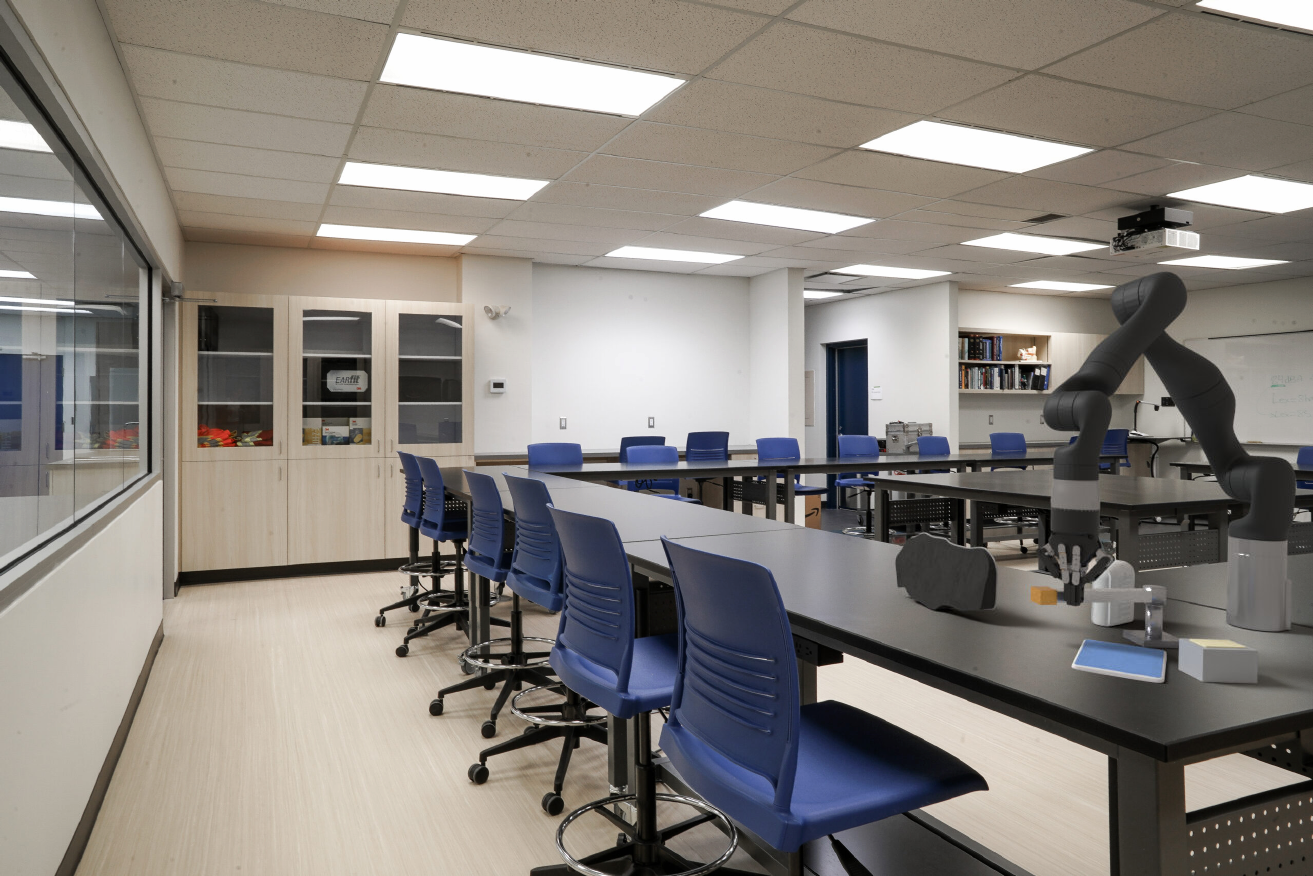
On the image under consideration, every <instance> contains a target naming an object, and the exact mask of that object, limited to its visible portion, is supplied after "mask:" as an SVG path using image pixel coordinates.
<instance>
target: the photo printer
mask: <svg viewBox="0 0 1313 876" xmlns="http://www.w3.org/2000/svg"><path fill="white" fill-rule="evenodd" d="M1135 573H1136V572H1135V570H1134V567H1133V566H1132V564H1130V563H1129V562H1127V561H1124V560H1118V559H1115V561H1114V562H1113V563H1112V564H1111V565H1110V566H1109V567H1108V568H1107V569H1106V570H1105V572H1104V573H1103V574H1102V575H1101V576H1100V577H1099V578H1098V579H1097V580H1096V581H1094V582H1091V583H1092V584H1091V585H1092V587H1091V588H1135V583H1136V581H1135V579H1136V578H1135ZM1134 617H1135V602H1110V603H1091V617H1090V618H1091V622H1092V623H1093V624H1094V625H1096V626H1101V627H1112V626H1113V627H1114V626H1117V625H1122V624H1126V623H1131V622H1133V621H1134Z"/></svg>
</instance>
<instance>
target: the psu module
mask: <svg viewBox="0 0 1313 876" xmlns="http://www.w3.org/2000/svg"><path fill="white" fill-rule="evenodd" d="M1178 638H1179V648H1178V671H1180V672H1183V674H1184V673H1185V674H1187V675H1188V676H1191V678H1194V679H1196V680H1198V681H1199V682H1201V683H1202V682H1203V683H1229V684H1230V683H1233V684H1237V683H1238V684H1258V669H1259V665H1258V663H1259V650H1257V649H1255V648H1253V647H1250V646H1247V645H1245V644H1243V643H1241V642H1238V641H1235V640H1233V639H1225V638H1221V639H1220V638H1219V639H1218V638H1215V639H1214V638H1213V639H1212V638H1182V637H1181V638H1180V637H1178Z"/></svg>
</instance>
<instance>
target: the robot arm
mask: <svg viewBox="0 0 1313 876" xmlns="http://www.w3.org/2000/svg"><path fill="white" fill-rule="evenodd" d="M1187 291H1188V290H1187V288H1186V285H1185V282H1184V281H1183V279H1181V277H1180V276H1179V275H1177V274H1176V273H1173V272H1171V271H1159V272H1154V273H1151V274H1147V275H1145V276H1142V277H1139V278H1137V279H1134V280H1133V279H1132V280H1131V281H1128V282H1125V283H1122V284H1120V285H1118V286H1117V287H1115V288H1114V289H1113V290H1112V292H1111V295H1110V306H1111V310H1112V313H1113V316H1114V317H1115V318H1116V320H1117V322H1118V324H1119V325H1120V326H1119V327H1118V328H1117V329H1116V330H1114V331H1113V332H1112V333H1109V335H1108V336H1106V338H1104V339H1103V340H1101V342H1099V343H1098V344H1097V345H1096V347H1094V349H1092V351H1091V352H1090V353H1089V354H1088V356H1087V357H1086V359H1085V360H1084V362H1083V364H1082V365H1081V366H1080V368H1079V369H1078V371H1076V372H1075V373H1074V374H1072V375H1071V376H1070V377H1069V378H1067V379H1066V380H1065V381H1064V382H1062V383H1061V384H1060V385H1059V386H1057V387H1056V388H1055V389H1054V390H1053V391H1052V392H1051V393H1049V395H1048V397H1047V398H1046V401H1045V402H1044V405H1043V410H1042V414H1043V415H1042V416H1043V421H1044V422H1045V424H1046V425H1047V427H1049V428H1050V429H1051V430H1054V431H1058V432H1079V434H1078V436H1077V438H1076V440H1075V441H1074V442H1072V443H1071V444H1066V445H1061V446H1059V447H1057V448H1055V450H1054V452H1053V460H1052V461H1053V465H1052V466H1053V472H1052V473H1053V474H1052V475H1053V478H1052V487H1051V492H1050V493H1051V495H1050V532H1051V533H1050V536H1049V538H1048V543H1046V544H1045V545H1044V546H1042V547H1038V548H1036V550H1035V552H1036V554H1037V556H1038V557H1039V559H1040V560H1041V561H1042V563H1043V565H1044V566H1045V568H1046V569H1047V570H1048V572H1049V573H1050V575H1051V576H1052V578H1054V579H1058V580H1060V581H1062V582H1063V588H1064V601H1066V603H1065V604H1066V606H1072V607H1080V606H1081V605H1082V603H1083V601H1084V588H1085V585H1086V584H1089V583H1092V582H1094V581H1096V580H1097V579H1098V578H1099V577H1100V576H1101V575H1102V574H1103V573H1104V572H1105V570H1106V569H1107V568H1108V567H1109V566H1110V565H1111V564H1112V563H1113V562H1114V561H1115V560H1116V557H1115V556H1114V555H1113V554H1111V555H1109V554H1108V553H1107V552H1106V551H1104V549H1102V548H1103V547H1102V546H1103V545H1102V542H1101V541H1100V530H1101V529H1100V528H1101V527H1100V526H1101V525H1100V521H1101V491H1100V490H1101V489H1100V482H1099V480H1100V478H1099V477H1100V457H1101V453H1102V449H1103V446H1104V442H1105V440H1106V436H1107V432H1108V430H1109V427H1110V424H1111V421H1112V416H1113V408H1112V403H1111V401H1110V399H1109V397H1111V396H1113V395H1114V394H1115V393H1116V392H1117V390H1118V389H1119V388H1120V386H1121V384H1122V383H1123V381H1124V380H1125V379H1126V377H1127V376H1128V374H1129V373H1130V371H1131V369H1132V368H1133V366H1134V365H1135V363H1136V362H1137V361H1138V360H1139V358H1140V357H1141V356H1142V355H1143V356H1144V357H1145V358H1146V360H1147V362H1148V363H1149V364H1150V366H1151V367H1152V369H1153V370H1154V372H1155V374H1156V375H1157V376H1158V378H1159V380H1160V381H1161V383H1162V384H1163V386H1164V389H1165V390H1166V391H1167V393H1168V395H1169V397H1170V398H1171V400H1172V402H1173V404H1174V405H1175V407H1176V409H1177V410H1178V412H1179V413H1180V415H1182V417H1183V418H1184V420H1185V422H1186V423H1187V425H1188V427H1189V429H1190V430H1191V431H1192V433H1193V435H1194V437H1195V439H1196V440H1197V442H1198V443H1199V445H1200V447H1201V449H1202V450H1203V454H1204V455H1205V457H1206V459H1207V462H1208V464H1209V466H1210V468H1211V470H1212V472H1213V475H1214V477H1215V479H1216V481H1217V483H1218V486H1220V488H1221V490H1222V491H1223V492H1224V494H1225V495H1227V496H1228V497H1229V498H1231V499H1233V500H1236V501H1239V502H1244V503H1250V508H1249V512H1248V514H1246V515H1245V516H1243V517H1241V518H1238V519H1234V520H1232V521H1231V522H1229V523H1228V533H1227V535H1228V537H1227V568H1226V569H1227V571H1226V575H1227V577H1226V610H1225V612H1226V613H1225V615H1226V616H1225V621H1226V623H1227V624H1229V625H1232V626H1233V627H1238V628H1242V629H1248V630H1254V631H1264V632H1283V631H1287V630H1290V631H1292V630H1291V629H1292V605H1293V604H1292V603H1293V602H1292V600H1293V598H1292V597H1293V581H1292V580H1291V579H1288V578H1287V577H1288V574H1287V573H1288V541H1289V540H1288V538H1289V532H1290V530H1291V528H1292V526H1293V523H1294V514H1295V513H1294V512H1295V504H1296V503H1295V502H1296V494H1297V493H1296V492H1297V478H1296V472H1295V469H1294V468H1293V466H1292V464H1291V463H1290V461H1288V460H1286V459H1285V458H1283V457H1278V456H1269V455H1268V456H1265V455H1250V454H1249V453H1248V452H1247V450H1245V448H1244V447H1243V446H1242V444H1241V442H1240V440H1239V439H1238V437H1237V435H1236V433H1235V430H1234V429H1235V428H1234V423H1235V422H1234V421H1235V414H1236V406H1237V403H1236V401H1237V400H1236V396H1235V393H1234V392H1233V390H1232V387H1231V386H1230V384H1229V383H1228V381H1227V379H1226V377H1225V376H1224V374H1223V373H1222V371H1221V370H1220V368H1219V367H1218V366H1217V365H1216V364H1215V363H1213V362H1212V361H1211V360H1209V359H1208V358H1206V357H1205V356H1204V355H1201V354H1200V353H1197V352H1195V351H1194V350H1192V349H1190V348H1189V347H1186V346H1184V345H1183V344H1181V343H1180V342H1178V341H1177V340H1176V339H1174V338H1173V337H1172V336H1171V335H1170V334H1169V333H1167V331H1166V329H1167V328H1168V327H1169V326H1170V325H1171V324H1172V323H1173V322H1174V321H1175V320H1176V319H1177V318H1178V317H1179V316H1180V315H1181V314H1182V313H1183V311H1184V310H1185V308H1186V306H1187V302H1188V301H1187V300H1188V292H1187ZM1055 556H1056V557H1057V558H1056V557H1055ZM1057 559H1058V560H1057ZM1094 559H1095V564H1094V565H1093V566H1092V567H1091V568H1090V569H1089V565H1090V563H1091V562H1092V561H1093V560H1094Z"/></svg>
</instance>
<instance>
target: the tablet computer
mask: <svg viewBox="0 0 1313 876" xmlns="http://www.w3.org/2000/svg"><path fill="white" fill-rule="evenodd" d="M1167 655H1168V654H1167V651H1165V650H1163V649H1159V648H1148V647H1142V646H1137V645H1130V644H1122V643H1115V642H1109V641H1101V640H1095V639H1088V638H1087V639H1084V640H1083V641H1082V644H1081V646H1080V648H1079V649H1078V652H1077V653H1076V655H1075V657H1074V660H1073V662H1072V664H1071V668H1072V669H1073V670H1077V671H1082V672H1087V673H1094V674H1099V675H1106V676H1111V677H1118V678H1125V679H1130V680H1135V681H1136V680H1137V681H1140V682H1141V681H1142V682H1148V683H1149V682H1150V683H1156V684H1161V683H1164V682H1165V676H1166V668H1167V667H1166V666H1167V657H1168V656H1167Z"/></svg>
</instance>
